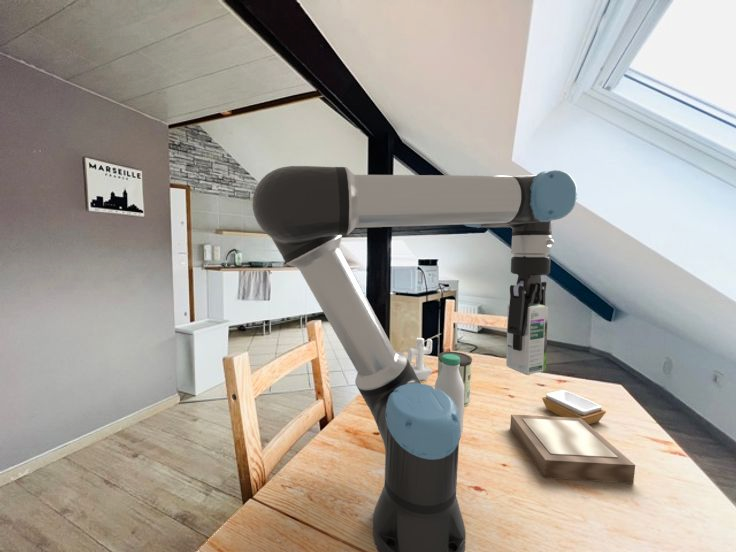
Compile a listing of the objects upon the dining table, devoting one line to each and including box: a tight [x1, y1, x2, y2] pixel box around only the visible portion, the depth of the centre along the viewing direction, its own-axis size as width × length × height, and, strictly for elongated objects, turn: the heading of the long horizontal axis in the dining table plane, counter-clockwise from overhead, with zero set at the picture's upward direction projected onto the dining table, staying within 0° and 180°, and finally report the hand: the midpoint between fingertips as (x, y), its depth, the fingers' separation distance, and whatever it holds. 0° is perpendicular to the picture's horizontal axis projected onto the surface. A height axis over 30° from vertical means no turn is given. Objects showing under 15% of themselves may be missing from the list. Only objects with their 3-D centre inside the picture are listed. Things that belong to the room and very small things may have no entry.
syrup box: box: [505, 303, 549, 376], centre depth 68 cm, size 6×6×14 cm
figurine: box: [407, 337, 434, 381], centre depth 115 cm, size 7×9×15 cm
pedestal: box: [509, 414, 636, 484], centre depth 74 cm, size 18×18×4 cm
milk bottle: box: [434, 354, 465, 436], centre depth 81 cm, size 8×8×20 cm
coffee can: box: [437, 351, 473, 408], centre depth 98 cm, size 10×10×14 cm
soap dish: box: [541, 389, 607, 425], centre depth 91 cm, size 12×10×5 cm
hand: (525, 359), depth 69 cm, fingers closed on syrup box, 7 cm apart
